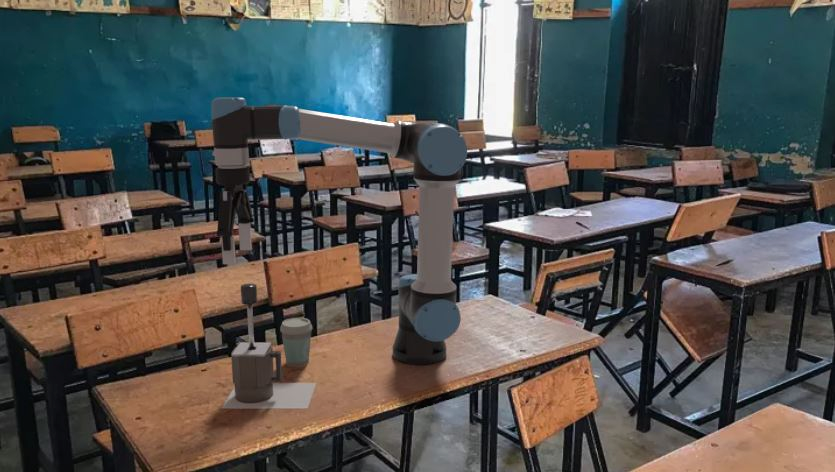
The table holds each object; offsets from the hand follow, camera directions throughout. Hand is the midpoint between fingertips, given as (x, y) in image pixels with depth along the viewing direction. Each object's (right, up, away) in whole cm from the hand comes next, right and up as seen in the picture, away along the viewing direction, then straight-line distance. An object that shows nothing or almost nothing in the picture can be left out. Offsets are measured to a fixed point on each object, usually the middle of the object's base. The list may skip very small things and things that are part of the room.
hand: (238, 256), depth 160 cm
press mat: (+7, -34, +5) cm, 35 cm away
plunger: (+3, -23, +2) cm, 23 cm away
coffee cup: (+10, -30, +24) cm, 40 cm away
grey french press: (+4, -34, +5) cm, 34 cm away
